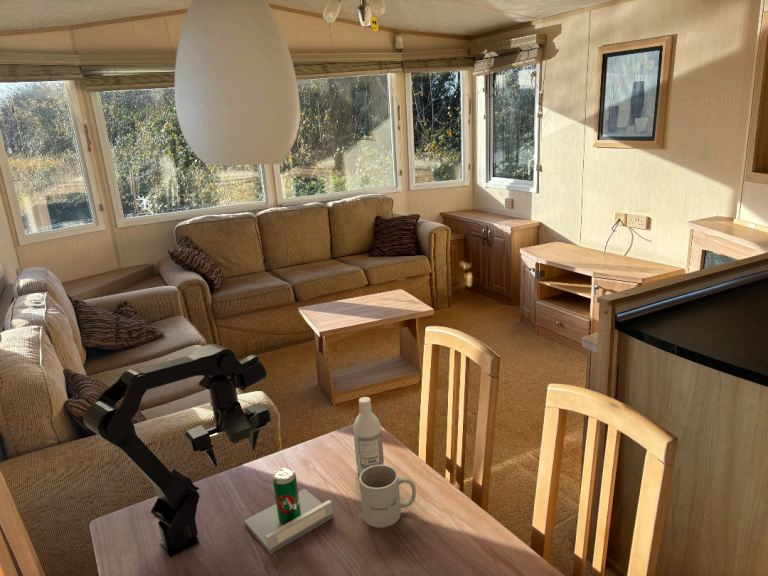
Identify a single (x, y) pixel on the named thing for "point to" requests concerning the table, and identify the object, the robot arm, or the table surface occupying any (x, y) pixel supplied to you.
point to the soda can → (286, 495)
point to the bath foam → (367, 437)
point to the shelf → (279, 534)
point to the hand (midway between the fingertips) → (234, 457)
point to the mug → (382, 495)
